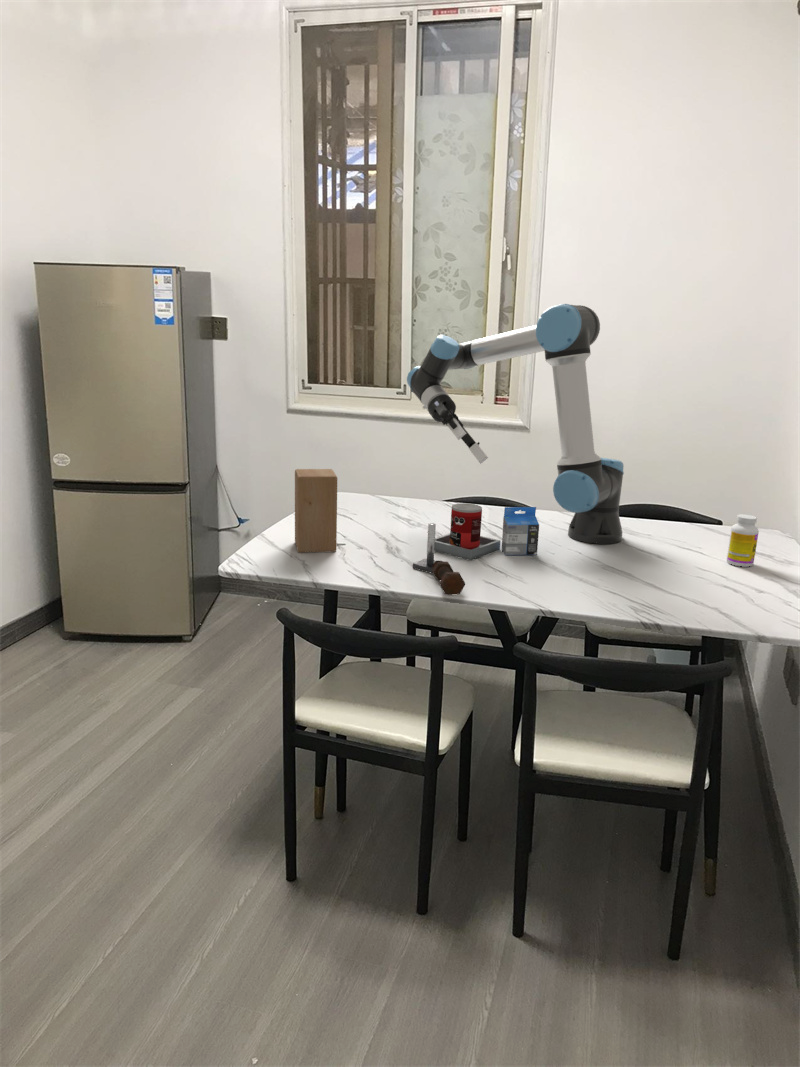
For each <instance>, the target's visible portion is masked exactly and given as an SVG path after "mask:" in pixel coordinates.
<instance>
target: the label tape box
mask: <svg viewBox="0 0 800 1067" xmlns="http://www.w3.org/2000/svg"><path fill="white" fill-rule="evenodd" d="M536 511H537V506H505V507H504V511H503V512H504V514H503V519H502V521H503V522H502V535H501V536H502V539H501V552H502V553H503V555H505V556H533V555H534V556H535V555H538V548H539V545H538V544H539V533H540V523H539V521H538V519H537V517H536ZM517 512H520V513H517ZM521 512H522V513H521ZM523 512H524V513H523Z"/></svg>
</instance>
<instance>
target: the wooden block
mask: <svg viewBox="0 0 800 1067" xmlns="http://www.w3.org/2000/svg"><path fill="white" fill-rule="evenodd" d="M337 519H338V476H337V474H336V473H335V471H334V470H333V469H332V468H297V469H295V470H294V543H295V546H296V551H297V553H332V552H333V553H335V552H336V551H337V540H338V539H337V538H338V537H337V534H338V532H337V529H338V528H337V527H338V526H337V525H338V520H337Z"/></svg>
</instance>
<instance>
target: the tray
mask: <svg viewBox="0 0 800 1067" xmlns="http://www.w3.org/2000/svg"><path fill="white" fill-rule="evenodd" d="M501 543H502V540H499V539H495V538H490V537H487V536H483V535H480V545H479V547H477V548H474V549H471V550H470V549H466V548H462V547H458V546H454V545H450V533H447V534H444V535H441V536H438V537H435V549H434V552H437V553H441V554H444V555H448V556H452V557H455V558H460V559H463V560H467V561H471V562H472V561H473V560H477V559H479V558H482V557H486V556H488V555H490V554H494V553H495V552H499V551H501Z"/></svg>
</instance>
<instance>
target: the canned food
mask: <svg viewBox="0 0 800 1067" xmlns="http://www.w3.org/2000/svg"><path fill="white" fill-rule="evenodd" d="M482 516H483V507H482V506H481V505H478V504H475V503H465V502H463V503H455V504H452V505H451V513H450V530H449V531H450V533H449V534H450V545H454V546H458V547H462V548H466V549H470V550H471V549H474V548H477V547H479V545H480V536H481V531H482V530H481V529H482V519H483V518H482Z"/></svg>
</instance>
